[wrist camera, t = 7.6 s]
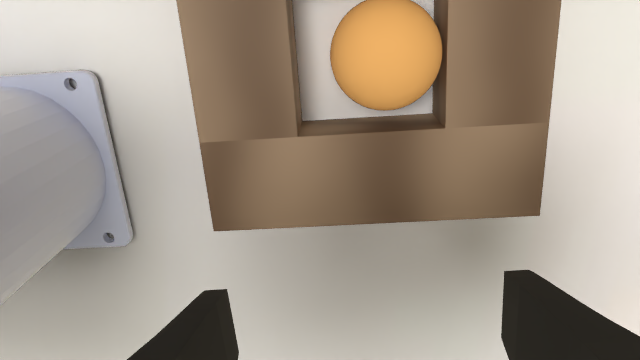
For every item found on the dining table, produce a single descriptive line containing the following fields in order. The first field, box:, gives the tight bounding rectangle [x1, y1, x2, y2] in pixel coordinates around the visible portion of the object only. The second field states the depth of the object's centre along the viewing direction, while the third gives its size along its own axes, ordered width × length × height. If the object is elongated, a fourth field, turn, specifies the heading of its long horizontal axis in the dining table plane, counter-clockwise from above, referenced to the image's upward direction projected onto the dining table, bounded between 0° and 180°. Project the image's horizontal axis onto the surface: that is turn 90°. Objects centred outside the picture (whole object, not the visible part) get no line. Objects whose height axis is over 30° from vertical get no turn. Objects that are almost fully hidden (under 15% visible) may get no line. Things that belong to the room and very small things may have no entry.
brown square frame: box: [176, 0, 561, 231], centre depth 18 cm, size 13×13×2 cm
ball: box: [330, 0, 442, 110], centre depth 17 cm, size 4×4×4 cm
